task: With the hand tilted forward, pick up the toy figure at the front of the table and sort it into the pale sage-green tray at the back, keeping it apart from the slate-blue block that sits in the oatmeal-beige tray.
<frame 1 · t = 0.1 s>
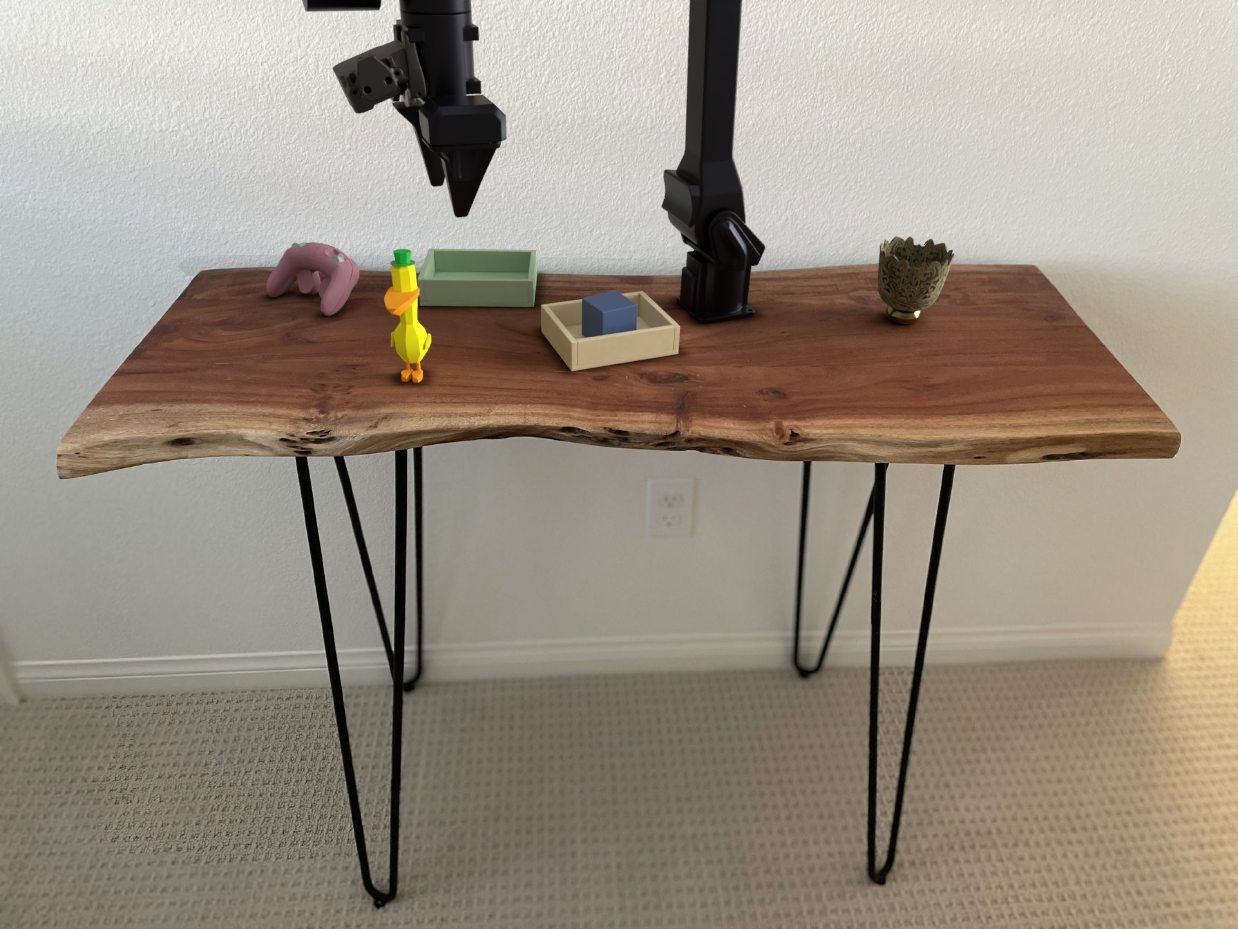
hand: (448, 200, 84), 15 cm above the table, tool pointing down, fingers open, 9 cm apart
video game controller: (316, 301, 101), on the table
slate block: (608, 338, 93), resting on beige tray
cup: (901, 321, 100), on the table
toy figure: (412, 380, 86), on the table
beige tray: (608, 342, 94), on the table
green tray: (480, 289, 104), on the table
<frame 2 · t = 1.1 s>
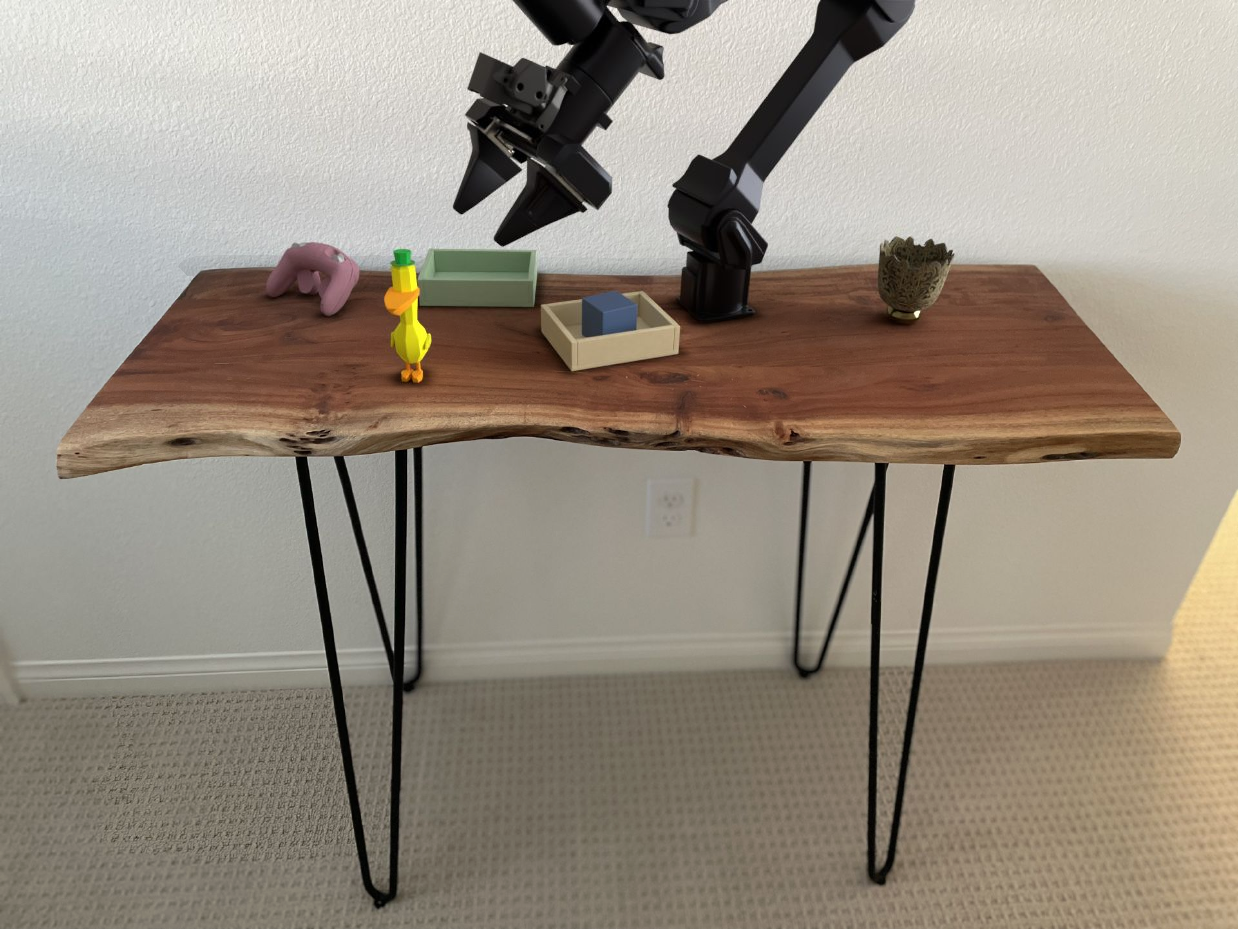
hand: (476, 226, 82), 13 cm above the table, tool tilted 45°, fingers open, 9 cm apart
nothing on the table moved.
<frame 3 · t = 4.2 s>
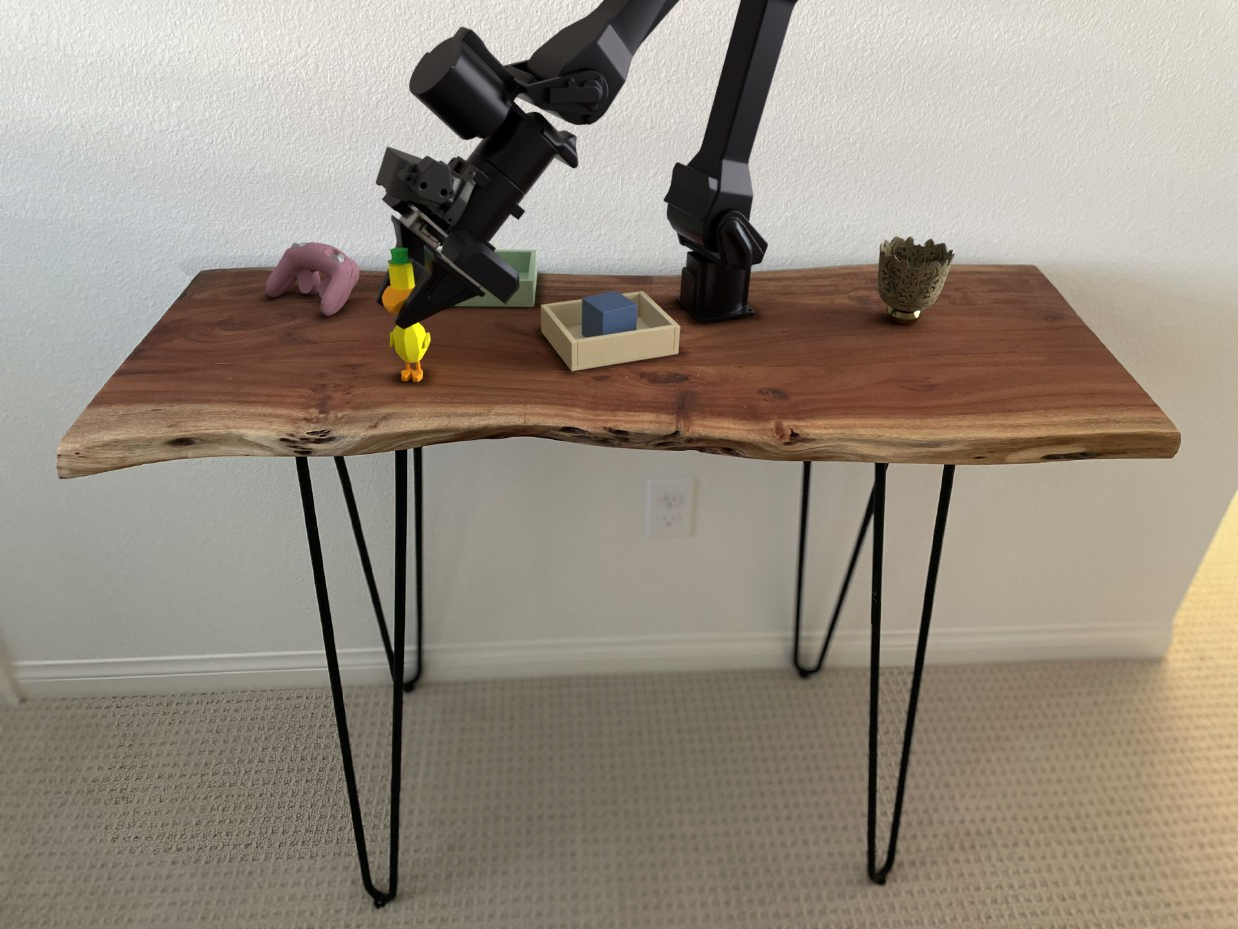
hand: (389, 315, 82), 7 cm above the table, tool tilted 45°, fingers closed on toy figure, 4 cm apart
toy figure: (412, 379, 86), on the table, touching gripper
everything else where it was.
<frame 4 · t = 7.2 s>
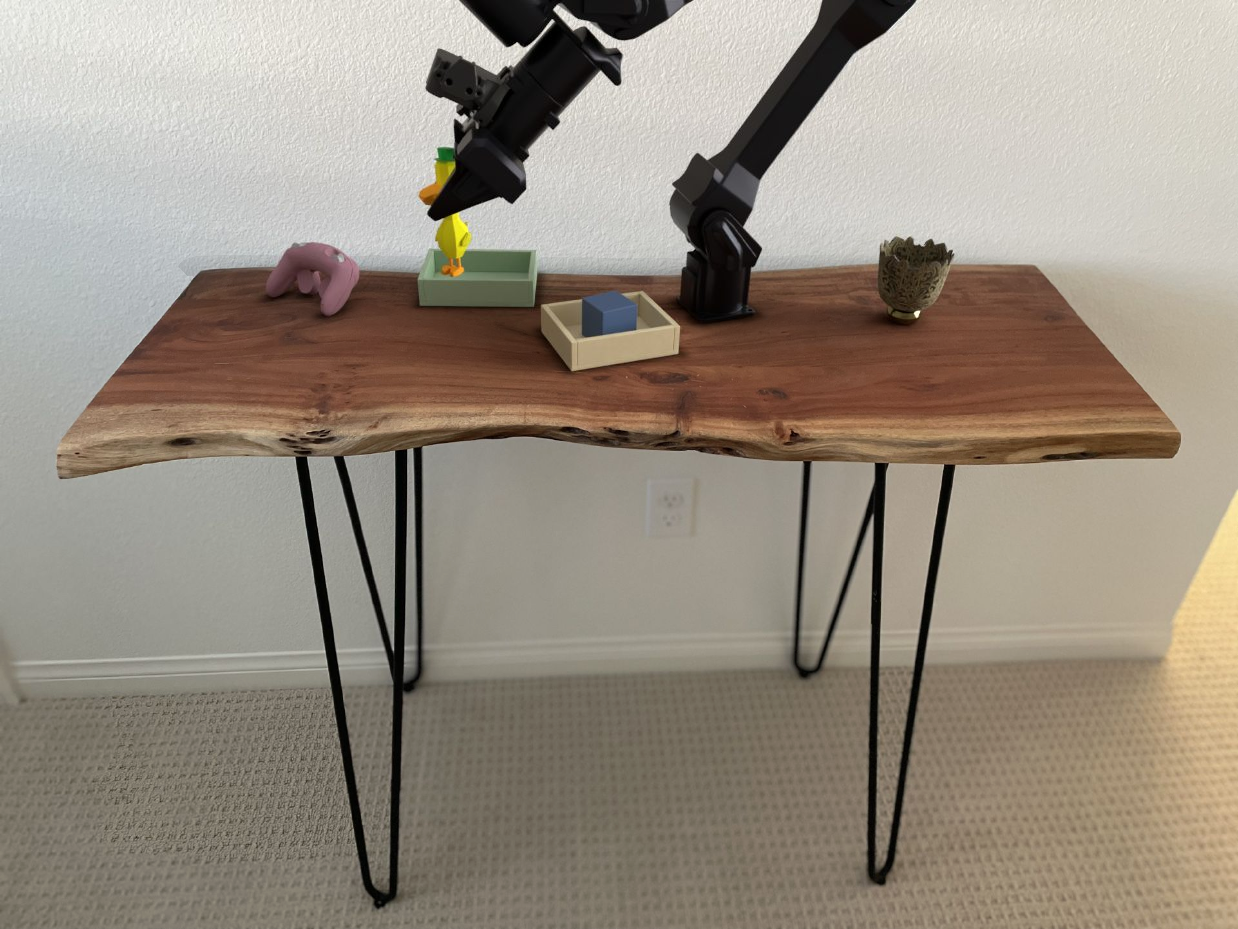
hand: (431, 208, 89), 12 cm above the table, tool tilted 45°, fingers closed on toy figure, 4 cm apart
toy figure: (451, 275, 93), point 6 cm above the table, touching gripper
everything else where it was.
when the fingers open (7 cm above the table, at t = 10.7 s): toy figure stays where it is, resting on green tray.
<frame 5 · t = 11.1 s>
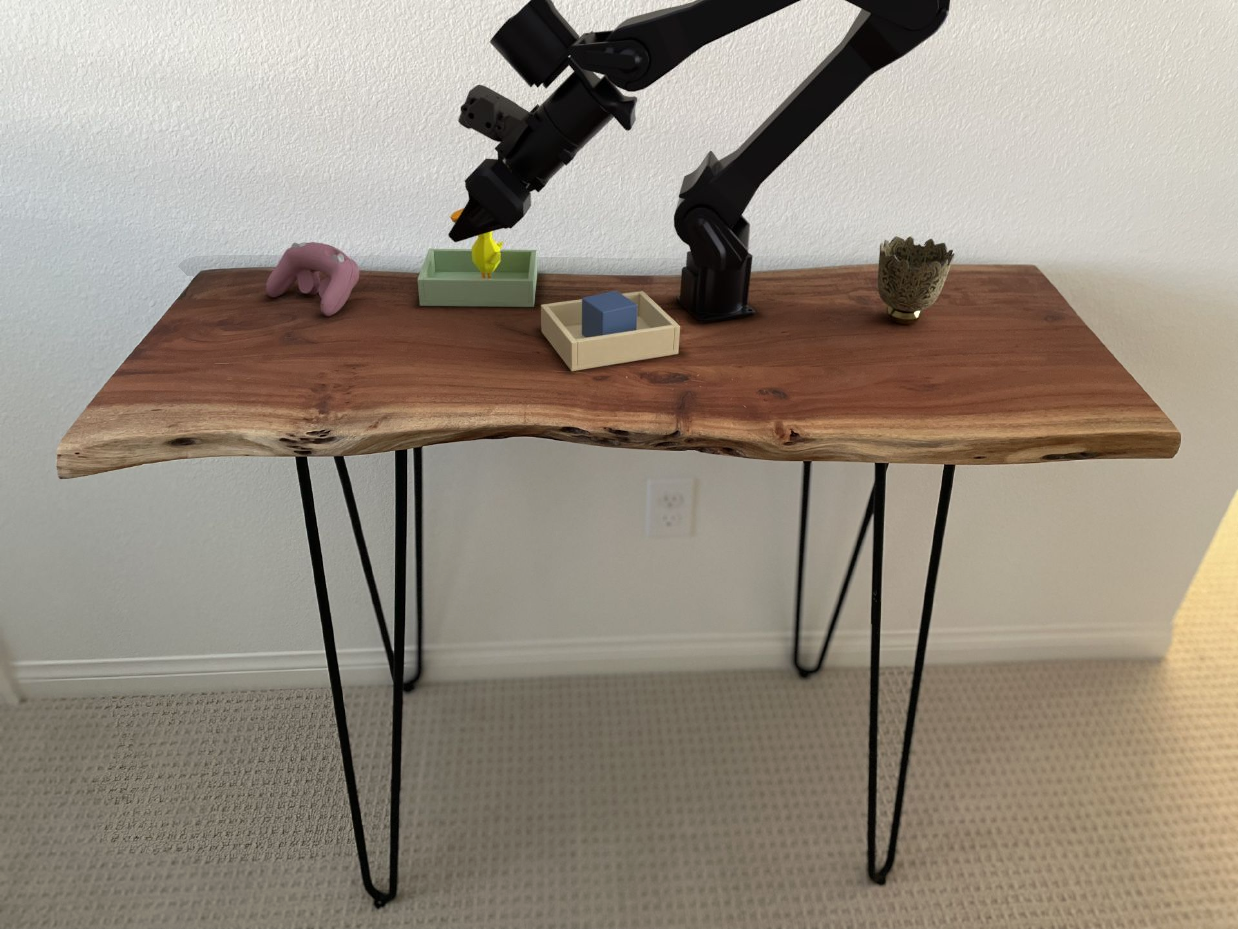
hand: (464, 223, 100), 7 cm above the table, tool tilted 45°, fingers open, 9 cm apart
toy figure: (482, 287, 104), resting on green tray
everything else where it was.
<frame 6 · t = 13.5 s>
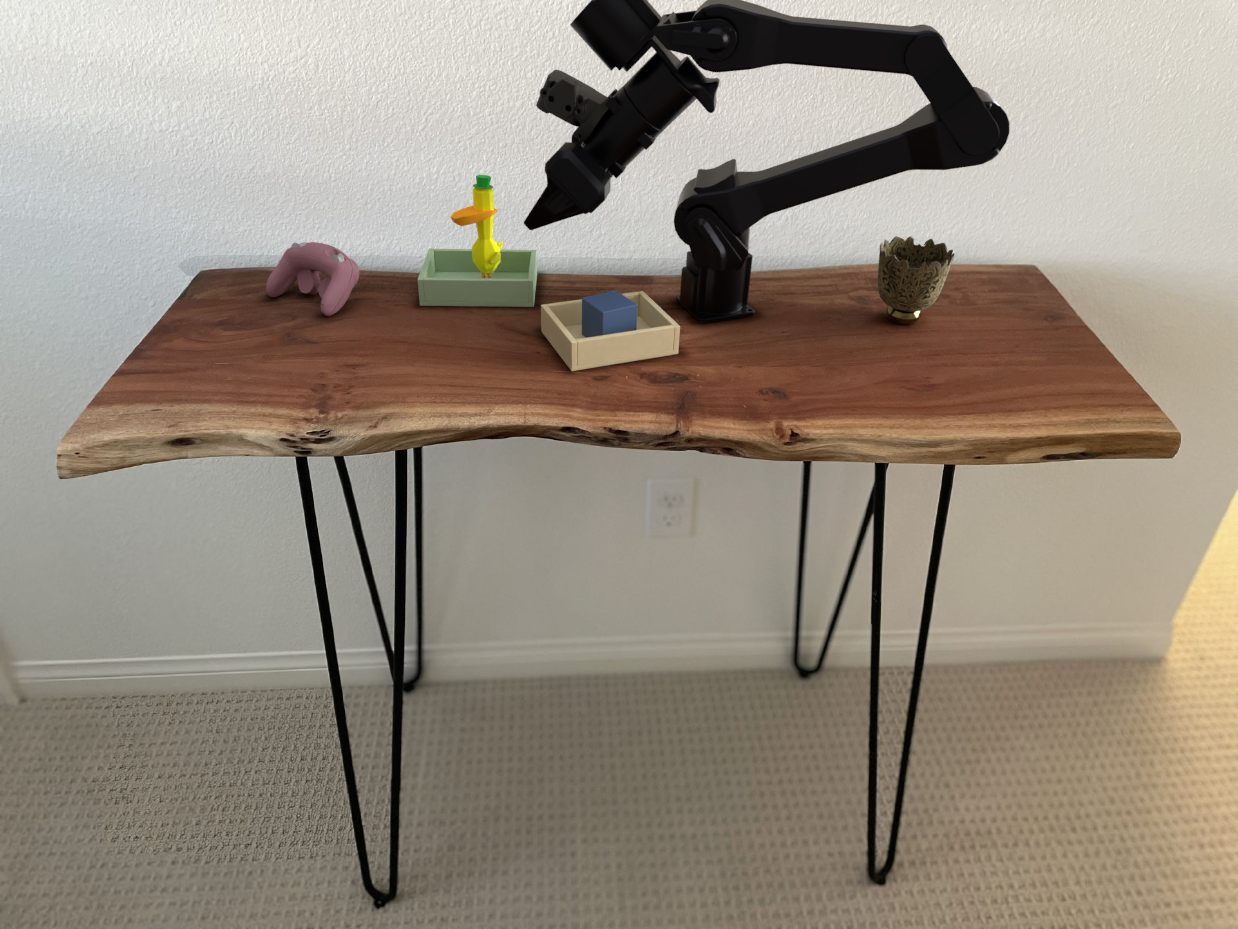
hand: (537, 213, 98), 9 cm above the table, tool tilted 45°, fingers open, 9 cm apart
nothing on the table moved.
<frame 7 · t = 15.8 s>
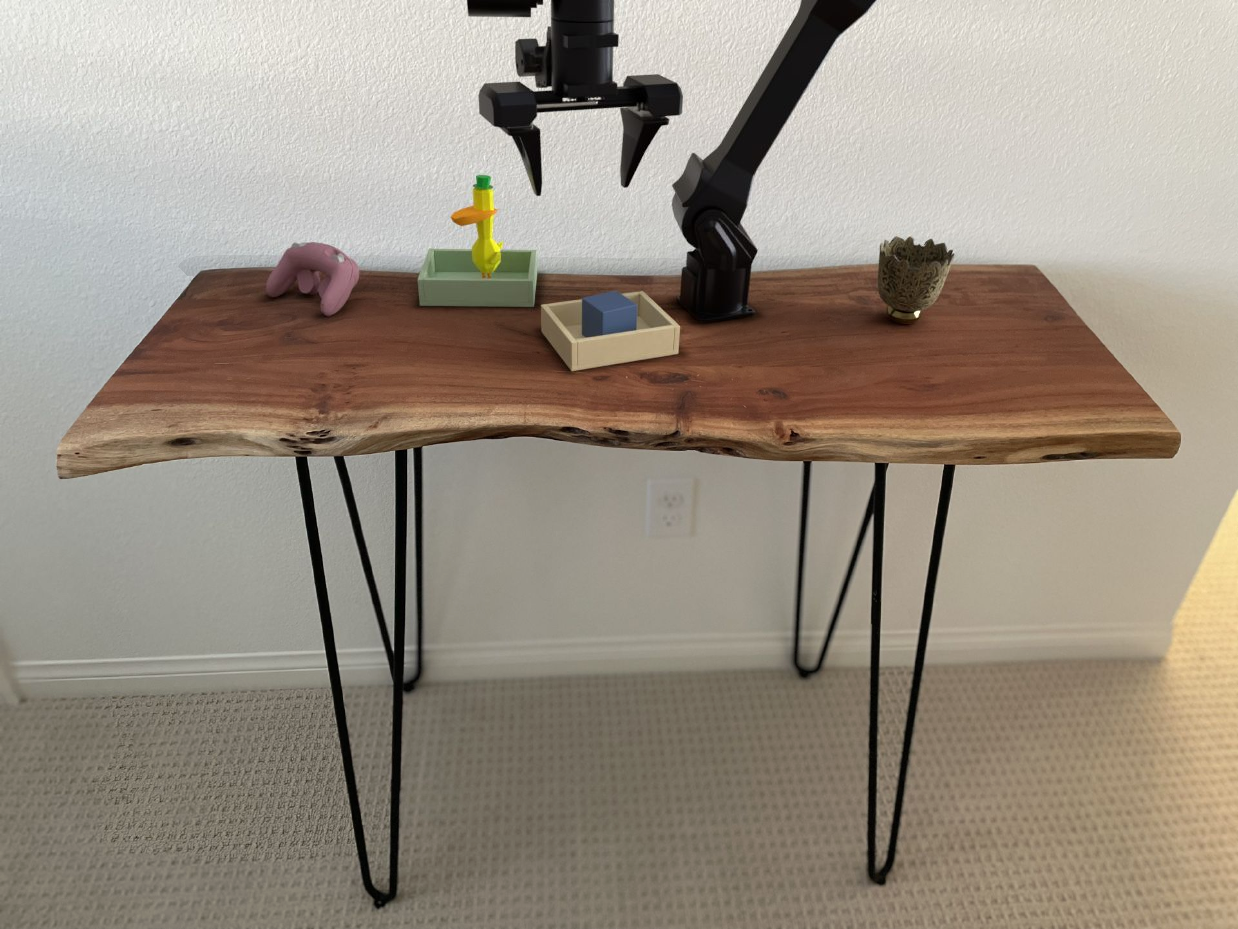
hand: (581, 190, 93), 13 cm above the table, tool pointing down, fingers open, 9 cm apart
nothing on the table moved.
at the end: toy figure inside the target area in the green tray (0.2 cm from its centre), point 0.3 cm above the green tray's base; toy figure tilted 0°; slate block inside the target area in the beige tray (0.0 cm from its centre), point 0.5 cm above the beige tray's base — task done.
